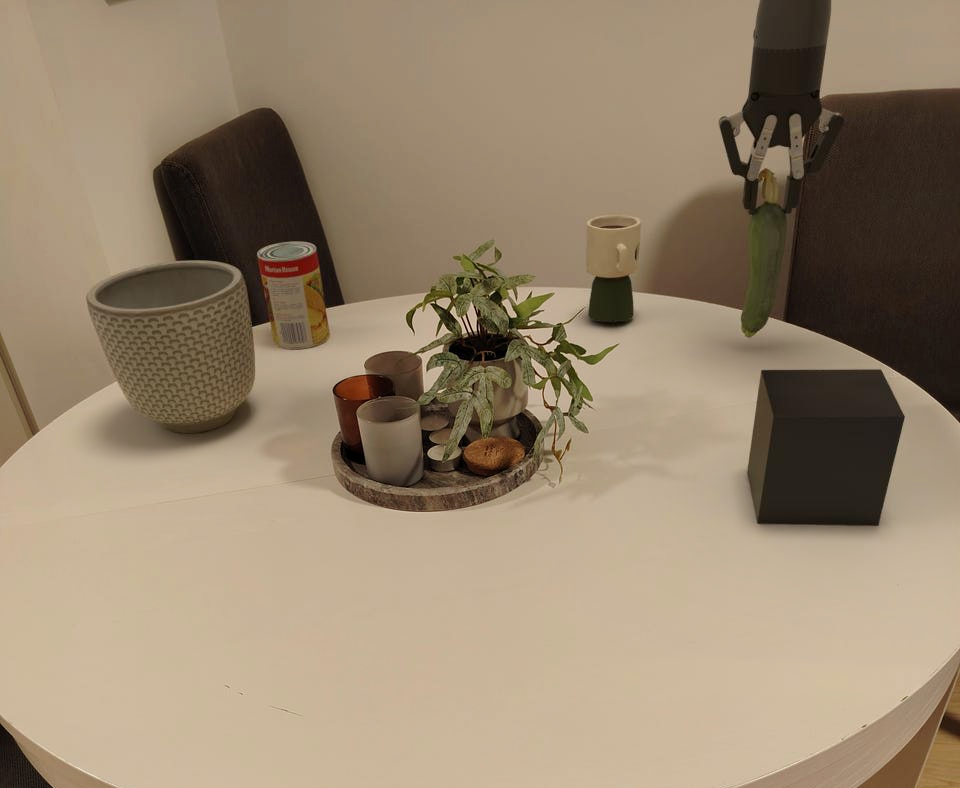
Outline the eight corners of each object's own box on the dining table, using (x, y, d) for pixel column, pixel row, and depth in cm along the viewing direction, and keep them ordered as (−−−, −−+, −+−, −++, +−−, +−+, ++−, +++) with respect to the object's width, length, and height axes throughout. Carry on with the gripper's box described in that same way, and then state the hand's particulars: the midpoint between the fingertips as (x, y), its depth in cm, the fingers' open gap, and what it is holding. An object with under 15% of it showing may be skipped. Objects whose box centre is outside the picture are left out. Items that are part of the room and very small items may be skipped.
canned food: (331, 326, 136) (318, 239, 129) (328, 347, 130) (313, 257, 123) (277, 330, 136) (260, 243, 129) (271, 351, 130) (253, 261, 123)
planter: (109, 413, 117) (66, 282, 107) (239, 376, 124) (210, 249, 114) (153, 466, 105) (110, 324, 95) (294, 421, 112) (268, 285, 102)
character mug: (647, 330, 128) (652, 230, 120) (595, 336, 128) (598, 236, 120) (624, 303, 137) (628, 208, 129) (576, 309, 136) (577, 213, 128)
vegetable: (772, 334, 121) (798, 163, 109) (768, 346, 118) (794, 172, 106) (737, 331, 123) (758, 162, 110) (732, 343, 120) (753, 171, 107)
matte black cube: (855, 464, 97) (877, 361, 90) (878, 525, 88) (905, 416, 81) (745, 463, 99) (759, 362, 92) (757, 523, 90) (773, 416, 83)
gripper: (724, 49, 98) (709, 223, 109) (866, 41, 96) (837, 219, 107) (719, 39, 104) (705, 205, 115) (853, 31, 102) (826, 202, 113)
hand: (769, 211), depth 111 cm, fingers closed on vegetable, 3 cm apart
